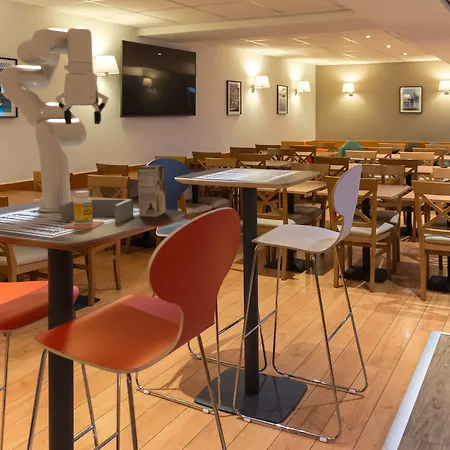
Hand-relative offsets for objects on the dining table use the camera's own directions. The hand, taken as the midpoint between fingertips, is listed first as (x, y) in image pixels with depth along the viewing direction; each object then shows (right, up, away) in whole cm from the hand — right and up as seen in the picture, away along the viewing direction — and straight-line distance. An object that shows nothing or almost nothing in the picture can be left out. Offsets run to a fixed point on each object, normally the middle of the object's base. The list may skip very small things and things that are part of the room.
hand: (82, 124), depth 188 cm
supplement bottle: (+4, -32, -15) cm, 36 cm away
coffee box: (+22, -29, +6) cm, 37 cm away
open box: (+6, -31, -3) cm, 31 cm away
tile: (+4, -33, -15) cm, 36 cm away
